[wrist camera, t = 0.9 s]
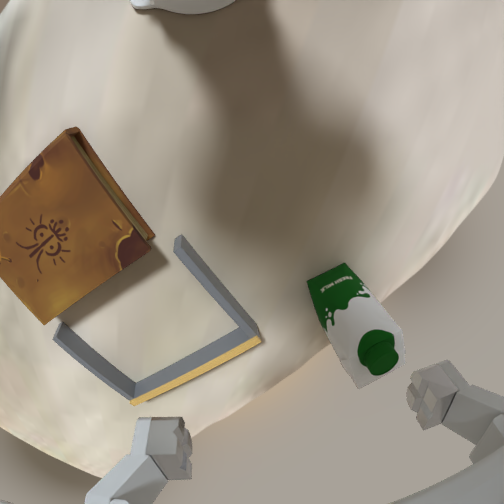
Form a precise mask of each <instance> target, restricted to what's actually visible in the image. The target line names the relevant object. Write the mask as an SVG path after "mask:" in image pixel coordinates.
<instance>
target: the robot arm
mask: <svg viewBox="0 0 504 504" xmlns="http://www.w3.org/2000/svg"><path fill="white" fill-rule="evenodd" d="M234 1H236V0H130V3H131V5H132V6H133V7H134V8H135V9H152V8H161V9H165V10H168V11H172V12H176V13H181V14H202V13H208V12H212V11H215V10H218V9H221V8H223V7H226V6H227V5H229V4H231V3H233V2H234ZM410 379H411V381H412V383H411V384H410V385H409V387H408V389H407V392H406V397H407V402H408V405H409V407H410V408H411V410H413V411H415V412H417V416H416V419H417V420H418V422H419V424H420V426H421V427H422V429H423V430H426V429H428V428H431V427H434V426H436V425H438V424H441V423H442V425H444V426H445V427H447V428H449V429H450V430H452V431H454V432H455V433H457V434H459V435H461V436H462V437H464V438H465V439H467V440H469V441H470V442H472V443H474V444H475V445H476V446H475V448H474V449H473V450H472V452H471V453H470V456H469V458H470V459H471V461H472V463H473V465H471V466H469V467H467V468H466V469H464V470H462V471H460V472H458V473H456V474H455V475H453V476H451V477H449V478H447V479H445V480H443V481H441V482H439V483H436V484H435V485H432V486H430V487H428V488H426V489H424V490H421V491H419V492H417V493H414V494H412V495H409V496H407V497H405V498H402V499H399V500H397V501H394V502H392V503H389V504H504V397H503V396H500V395H498V394H495V393H493V392H490V391H487V390H485V389H482V388H480V387H477V386H475V385H471V386H470V385H469V384H468V383H467V381H466V380H465V379H464V378H463V377H462V375H461V374H460V373H459V372H458V370H457V369H456V368H455V367H454V365H453V364H452V363H451V362H450V361H449V360H444V361H442V362H439V363H436V364H433V365H430V366H428V367H425V368H422V369H419V370H417V371H414V372H413V373H412V375H411V378H410ZM184 426H185V422H184V420H183V418H182V417H139V418H138V420H137V422H136V427H135V432H134V437H133V442H132V447H131V453H130V455H125V456H124V457H123V458H122V459H121V460H120V461H119V462H118V463H117V464H116V465H115V466H114V467H113V468H112V469H111V470H110V471H109V472H108V473H107V474H106V475H105V476H104V477H103V478H102V479H101V480H100V481H99V482H98V483H97V484H96V485H95V486H94V487H93V488H92V489H91V490H90V491H89V492H88V493H87V494H86V499H85V503H84V504H152V503H153V502H154V501H155V499H156V498H157V496H158V495H159V494H160V492H161V491H162V489H163V488H164V487H165V485H166V484H167V482H168V480H184V479H191V477H192V475H191V474H192V463H191V461H190V460H189V457H190V456H191V454H192V440H191V436H190V433H189V431H188V429H186V428H184ZM0 504H12V503H10V502H7V501H4V500H0Z"/></svg>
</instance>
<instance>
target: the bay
mask: <svg viewBox="0 0 504 504" xmlns="http://www.w3.org/2000/svg"><path fill="white" fill-rule="evenodd" d="M173 252H174V253H175V254H176V255H177V257H178V258H179V259H180V260H181V261H182V263H183V264H184V265H185V266H186V267H187V268H188V270H189V271H190V272H191V273H192V274H193V275H194V276H195V278H196V279H197V280H198V281H199V282H200V283H201V285H202V286H203V287H204V288H205V289H206V290H207V291H208V292H209V294H210V295H211V296H212V297H213V298H214V299H215V300H216V301H217V303H218V304H219V305H220V306H221V307H222V308H223V309H224V310H225V312H226V313H227V314H228V315H229V316H230V317H231V318H232V319H233V320H234V321H235V323H236V324H237V325H238V326H239V328H237V329H235V330H234V331H232V332H230V333H228V334H227V335H225V336H223V337H221V338H220V339H218V340H216V341H214V342H212V343H211V344H209V345H207V346H205V347H203V348H202V349H200V350H198V351H196V352H194V353H193V354H191V355H189V356H187V357H185V358H183V359H181V360H180V361H178V362H176V363H174V364H172V365H170V366H168V367H166V368H164V369H163V370H161V371H159V372H157V373H155V374H153V375H151V376H149V377H147V378H145V379H143V380H141V381H139V382H137V383H135V382H133V381H132V380H131V379H130V378H128V377H127V376H126V375H124V374H123V373H122V372H120V371H119V370H118V369H117V368H115V367H114V366H113V365H112V364H110V363H109V362H108V361H107V360H106V359H104V358H103V357H102V356H101V355H99V354H98V353H97V352H96V351H95V350H94V349H92V348H91V347H90V346H89V345H88V344H87V343H86V342H84V341H83V340H82V339H81V338H80V337H79V336H78V335H77V334H75V333H74V332H73V331H72V330H71V329H70V328H69V327H68V326H67V325H66V324H65V323H64V322H62V323H60V324H59V326H58V328H57V330H56V333H55V335H54V337H53V339H52V340H54V341H55V342H56V343H57V344H58V345H59V346H60V347H61V348H63V349H64V350H65V351H66V352H67V353H68V354H70V355H71V356H72V357H73V358H74V359H75V360H77V361H78V362H79V363H80V364H82V365H83V366H84V367H85V368H87V369H88V370H89V371H90V372H92V373H93V374H94V375H95V376H97V377H98V378H99V379H101V380H102V381H103V382H105V383H106V384H107V385H109V386H110V387H111V388H113V389H114V390H115V391H117V392H118V393H120V394H121V395H122V396H124V397H125V398H127V399H128V400H130V404H132V405H133V406H136V405H138V404H140V403H142V402H144V401H147V400H149V399H151V398H153V397H155V396H158V395H160V394H162V393H164V392H166V391H168V390H170V389H172V388H174V387H176V386H178V385H181V384H183V383H185V382H187V381H189V380H191V379H193V378H195V377H197V376H199V375H201V374H203V373H205V372H207V371H209V370H210V369H212V368H214V367H216V366H218V365H220V364H222V363H224V362H226V361H228V360H230V359H231V358H233V357H235V356H237V355H239V354H241V353H243V352H244V351H246V350H248V349H250V348H252V347H253V346H255V345H257V344H259V343H261V338H260V335H259V331H258V328H257V324H256V323H255V322H254V320H253V319H252V318H251V317H250V316H249V315H248V313H247V312H246V311H245V310H244V309H243V308H242V306H241V305H240V304H239V303H238V302H237V301H236V299H235V298H234V297H233V296H232V295H231V293H230V292H229V291H228V290H227V289H226V287H225V286H224V285H223V284H222V283H221V282H220V280H219V279H218V278H217V277H216V275H215V274H214V273H213V272H212V271H211V269H210V268H209V267H208V266H207V265H206V263H205V262H204V261H203V260H202V259H201V257H200V256H199V255H198V254H197V252H196V251H195V250H194V249H193V247H192V246H191V245H190V244H189V243H188V241H187V240H186V239H185V238H184V236H183V235H182V234H181V235H180V236H178V237H177V238H175V242H174V251H173Z"/></svg>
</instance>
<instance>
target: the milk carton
mask: <svg viewBox="0 0 504 504" xmlns="http://www.w3.org/2000/svg"><path fill="white" fill-rule="evenodd" d="M307 284H308V287H309V290H310V294H311V297H312V300H313V304H314V307H315V310H316V313H317V315H318V318H319V321H320V323H321V325H322V327H323V329H324V331H325V333H326V335H327V337H328V339H329V341H330V343H331V344H332V346H333V348H334V350H335V352H336V354H337V356H338V357H339V359H340V362H341V364H342V366H343V368H344V369H345V370H346V372H347V373H348V374H349V375H350V376H351V378H352V379H353V381H354V383H355V385H356V386H357V388H358V389H360V388H362V387H364V386H366V385H368V384H370V383H372V382H373V381H375V380H377V379H379V378H381V377H383V376H385V375H386V374H388V373H390V372H392V371H394V370H395V369H397V368H399V367H400V366H402V365H404V364H405V348H404V339H403V332H402V329H401V328H400V327H399V326H398V325H397V323H396V322H395V321H394V320H393V319H392V318H391V316H390V315H389V314H388V313H387V311H386V310H385V309H384V308H383V306H382V305H381V304H380V303H379V301H378V300H377V299H376V298H375V296H374V295H373V294H372V293H371V292H370V290H369V289H368V288H367V287H366V285H365V284H364V283H363V282H362V281H361V280H360V279H359V277H358V276H357V275H356V274H355V273H354V272H353V271H352V270H351V269H350V268H349V267H348V266H347V265H346V264H345V263H343V264H341V265H339V266H337V267H335V268H333V269H331V270H329V271H327V272H325V273H323V274H321V275H319V276H317V277H315V278H313V279H311V280H309V281H307Z"/></svg>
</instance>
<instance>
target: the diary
mask: <svg viewBox="0 0 504 504" xmlns="http://www.w3.org/2000/svg"><path fill="white" fill-rule="evenodd" d="M153 236H155V234H154V233H153V231H152V230H151V229H150V227H149V226H148V225H147V223H146V222H145V221H144V219H143V218H142V217H141V215H140V214H139V213H138V211H137V210H136V209H135V207H134V206H133V205H132V203H131V202H130V201H129V199H128V198H127V197H126V195H125V194H124V192H123V191H122V190H121V188H120V187H119V185H118V184H117V183H116V181H115V180H114V178H113V177H112V176H111V174H110V173H109V171H108V170H107V169H106V167H105V166H104V164H103V163H102V161H101V160H100V159H99V157H98V156H97V154H96V153H95V151H94V150H93V148H92V147H91V145H90V144H89V143H88V141H87V140H86V138H85V137H84V135H83V134H82V132H81V131H80V129H79V128H78V127H73V128H69V129H66V130H64V131H63V132H62V133H61V134H60V135H59V136H58V137H57V138H56V139H55V140H54V141H53V142H51V143H50V144H49V145H48V146H47V147H46V148H45V149H44V150H43V151H42V152H41V153H40V154H39V155H38V156H37V157H36V158H35V159H34V160H33V161H32V162H31V163H30V164H29V165H28V166H27V167H26V168H25V170H24V171H23V172H22V173H21V174H20V175H19V176H18V177H17V178H16V179H15V180H14V181H13V183H12V184H11V185H10V186H9V187H8V188H7V189H6V191H5V192H4V193H3V194H2V195H1V196H0V277H1V278H2V280H3V281H4V282H5V283H6V284H7V286H8V287H9V288H10V289H11V290H12V291H13V292H14V294H15V295H16V296H17V297H18V298H19V299H20V300H21V301H22V303H23V304H24V305H25V306H26V307H27V308H28V309H29V310H30V311H31V312H32V313H33V314H34V315H35V316H36V317H37V318H38V320H39V321H40V322H41V323H42V324H43V325H45V324H47V323H48V322H49V321H51V320H52V319H53V318H55V317H56V316H57V315H59V314H60V313H62V312H63V311H64V310H66V309H67V308H68V307H70V306H71V305H73V304H74V303H75V302H77V301H78V300H79V299H81V298H82V297H84V296H85V295H86V294H88V293H89V292H91V291H92V290H94V289H95V288H96V287H98V286H99V285H101V284H102V283H104V282H105V281H106V280H108V279H109V278H111V277H112V276H114V275H115V274H117V273H118V272H120V271H121V270H122V269H124V268H125V267H127V266H128V265H130V264H131V263H133V262H134V261H136V260H137V259H139V258H140V257H142V256H143V255H145V254H146V253H148V252H149V251H150V250H151V247H150V245H149V244H148V243H147V242H146V241H147V240H149V239H150V238H152V237H153Z"/></svg>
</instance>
